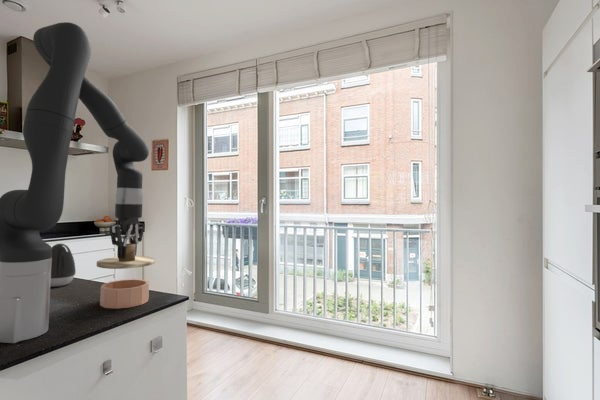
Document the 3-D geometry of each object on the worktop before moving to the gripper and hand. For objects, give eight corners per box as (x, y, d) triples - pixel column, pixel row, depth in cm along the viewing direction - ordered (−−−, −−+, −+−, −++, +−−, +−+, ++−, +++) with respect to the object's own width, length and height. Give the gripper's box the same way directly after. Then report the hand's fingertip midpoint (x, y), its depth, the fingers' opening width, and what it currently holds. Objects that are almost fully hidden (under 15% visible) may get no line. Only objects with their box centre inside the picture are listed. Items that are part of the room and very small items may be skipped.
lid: (134, 270, 90) (135, 249, 90) (83, 267, 91) (84, 246, 91) (164, 260, 106) (165, 242, 106) (120, 258, 107) (121, 240, 107)
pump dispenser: (33, 286, 113) (35, 243, 113) (66, 280, 122) (68, 241, 122) (48, 290, 108) (50, 246, 108) (80, 284, 117) (82, 243, 118)
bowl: (131, 309, 91) (131, 290, 91) (89, 306, 92) (90, 288, 92) (156, 297, 104) (157, 280, 104) (120, 294, 105) (120, 278, 105)
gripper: (125, 203, 91) (123, 261, 91) (153, 203, 105) (151, 254, 105) (101, 202, 92) (99, 260, 92) (132, 202, 106) (130, 253, 106)
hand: (127, 256), depth 99 cm, fingers closed on lid, 4 cm apart
